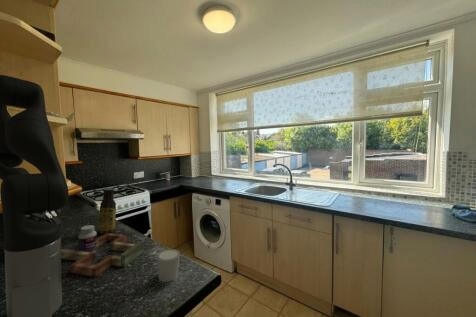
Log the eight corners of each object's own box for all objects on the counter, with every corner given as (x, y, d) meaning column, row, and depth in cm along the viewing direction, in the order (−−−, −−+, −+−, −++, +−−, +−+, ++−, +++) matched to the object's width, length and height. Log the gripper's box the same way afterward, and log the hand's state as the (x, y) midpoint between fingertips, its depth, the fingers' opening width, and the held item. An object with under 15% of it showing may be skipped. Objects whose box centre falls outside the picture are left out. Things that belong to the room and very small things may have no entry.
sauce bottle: (96, 235, 88) (96, 190, 87) (102, 229, 94) (101, 187, 93) (113, 234, 90) (113, 190, 88) (117, 228, 96) (117, 187, 94)
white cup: (171, 266, 68) (172, 246, 67) (184, 275, 63) (184, 254, 63) (152, 276, 62) (152, 254, 62) (164, 286, 58) (164, 263, 57)
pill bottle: (87, 257, 71) (86, 231, 70) (74, 255, 72) (74, 229, 71) (100, 250, 76) (100, 225, 76) (88, 248, 77) (88, 223, 77)
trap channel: (38, 268, 64) (37, 256, 64) (96, 237, 86) (95, 228, 86) (110, 278, 60) (110, 266, 60) (152, 243, 82) (152, 234, 82)
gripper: (13, 189, 69) (44, 227, 68) (53, 182, 82) (80, 214, 81) (1, 203, 70) (31, 240, 69) (42, 194, 83) (69, 225, 82)
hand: (57, 226), depth 75 cm, fingers closed
